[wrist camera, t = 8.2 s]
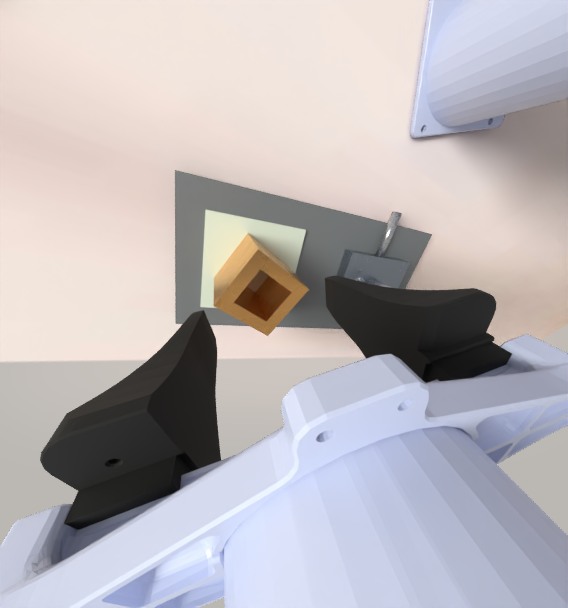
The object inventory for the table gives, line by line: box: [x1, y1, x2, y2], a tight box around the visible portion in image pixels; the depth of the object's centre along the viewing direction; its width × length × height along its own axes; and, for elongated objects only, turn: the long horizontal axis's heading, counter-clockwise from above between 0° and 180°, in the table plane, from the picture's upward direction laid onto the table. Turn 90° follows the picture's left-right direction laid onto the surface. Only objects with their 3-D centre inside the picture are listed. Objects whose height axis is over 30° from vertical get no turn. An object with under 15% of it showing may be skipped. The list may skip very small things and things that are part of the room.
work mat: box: [175, 170, 432, 329], centre depth 21 cm, size 24×12×2 cm, turn 77°
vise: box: [336, 212, 410, 288], centre depth 20 cm, size 7×10×4 cm
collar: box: [213, 233, 309, 336], centre depth 16 cm, size 5×5×5 cm
